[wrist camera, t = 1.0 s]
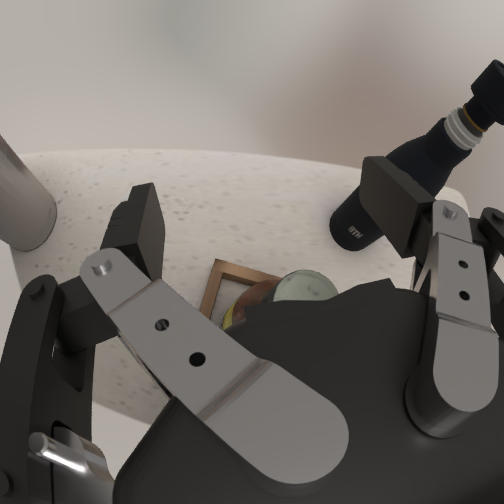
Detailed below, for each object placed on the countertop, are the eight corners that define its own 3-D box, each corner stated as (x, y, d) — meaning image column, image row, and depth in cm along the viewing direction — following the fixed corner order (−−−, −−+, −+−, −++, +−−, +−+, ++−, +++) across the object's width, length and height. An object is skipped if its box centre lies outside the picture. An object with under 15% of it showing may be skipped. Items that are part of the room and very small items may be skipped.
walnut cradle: (189, 351, 33) (187, 352, 30) (214, 265, 36) (215, 258, 33) (288, 377, 33) (295, 380, 31) (308, 292, 37) (317, 288, 34)
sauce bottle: (232, 361, 33) (262, 387, 14) (214, 310, 35) (222, 273, 16) (285, 342, 35) (370, 340, 16) (267, 293, 36) (332, 238, 17)
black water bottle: (369, 211, 41) (518, 71, 13) (371, 253, 40) (552, 132, 11) (328, 203, 41) (466, 32, 12) (329, 248, 39) (506, 92, 10)
